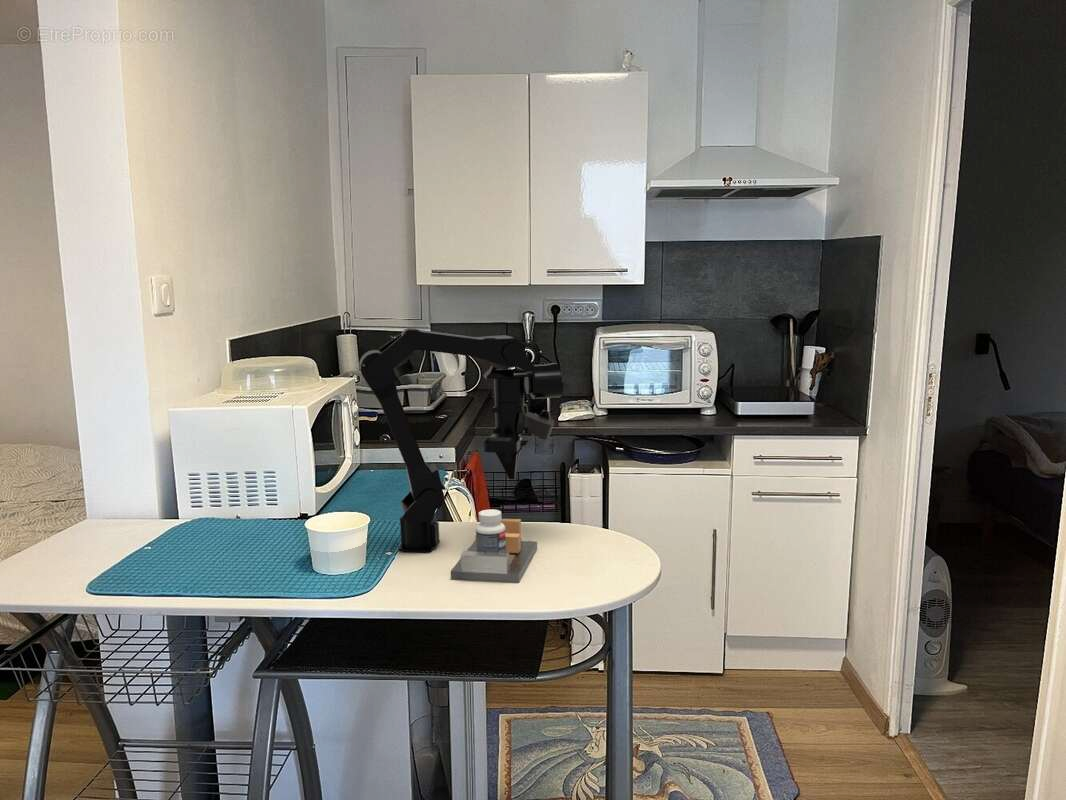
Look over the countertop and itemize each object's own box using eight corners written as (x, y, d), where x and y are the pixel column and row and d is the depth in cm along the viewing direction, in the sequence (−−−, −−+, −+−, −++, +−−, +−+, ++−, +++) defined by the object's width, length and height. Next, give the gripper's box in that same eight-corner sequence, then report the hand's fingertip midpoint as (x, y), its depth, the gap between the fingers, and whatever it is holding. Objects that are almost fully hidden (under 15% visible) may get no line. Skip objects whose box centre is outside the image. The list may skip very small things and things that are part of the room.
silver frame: (450, 579, 137) (449, 554, 136) (476, 546, 153) (475, 524, 153) (518, 582, 135) (518, 557, 134) (537, 549, 151) (536, 526, 150)
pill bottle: (504, 566, 138) (502, 517, 137) (474, 566, 139) (472, 517, 137) (508, 555, 143) (506, 508, 142) (479, 555, 144) (477, 508, 142)
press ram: (475, 551, 145) (475, 530, 145) (485, 538, 153) (485, 518, 152) (518, 553, 144) (517, 531, 143) (526, 539, 151) (526, 519, 151)
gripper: (541, 408, 144) (543, 492, 146) (557, 393, 162) (559, 468, 164) (482, 408, 146) (485, 490, 148) (504, 393, 164) (507, 467, 166)
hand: (511, 478), depth 157 cm, fingers closed
